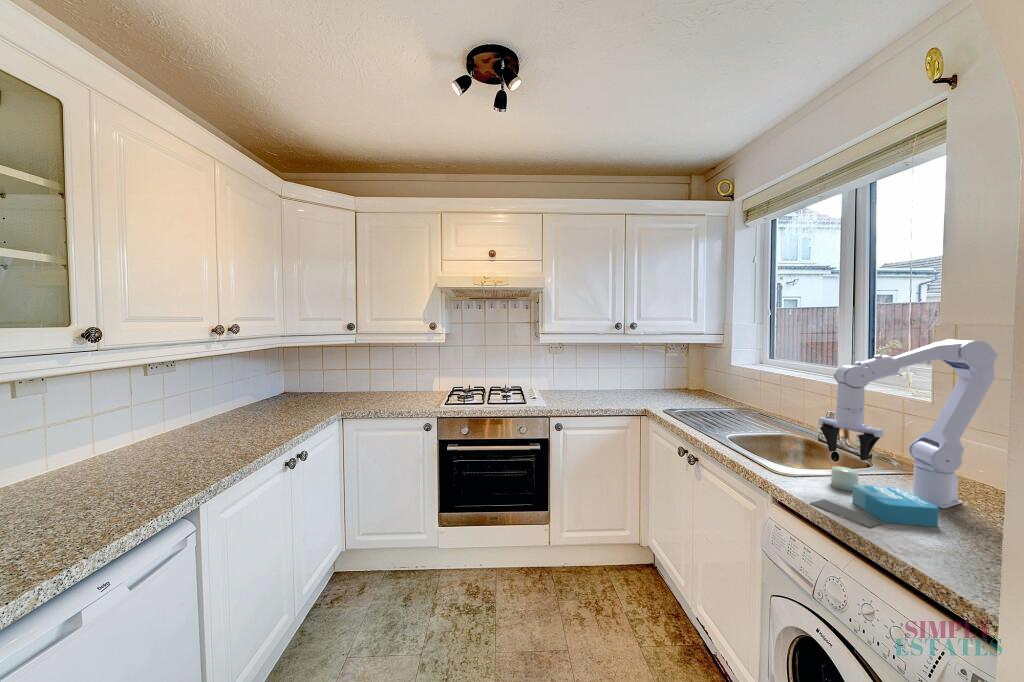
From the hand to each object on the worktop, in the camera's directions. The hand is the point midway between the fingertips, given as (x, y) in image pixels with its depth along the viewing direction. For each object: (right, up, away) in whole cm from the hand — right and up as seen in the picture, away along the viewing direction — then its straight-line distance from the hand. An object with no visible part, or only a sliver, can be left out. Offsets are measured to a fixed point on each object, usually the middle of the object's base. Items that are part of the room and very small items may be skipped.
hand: (847, 455), depth 111 cm
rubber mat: (-12, -11, -13) cm, 20 cm away
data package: (-5, -9, -11) cm, 15 cm away
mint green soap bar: (+2, -10, +3) cm, 11 cm away
